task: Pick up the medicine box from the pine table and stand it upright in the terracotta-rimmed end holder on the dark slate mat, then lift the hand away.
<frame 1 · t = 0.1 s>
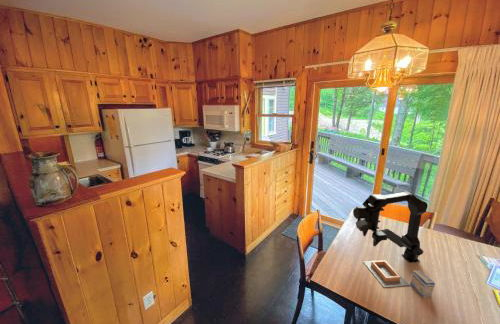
hand: (369, 240, 118), 15 cm above the table, tool pointing down, fingers open, 9 cm apart
end holder: (384, 272, 114), on the table
cell phone: (393, 238, 143), on the table
medicine box: (420, 290, 103), on the table
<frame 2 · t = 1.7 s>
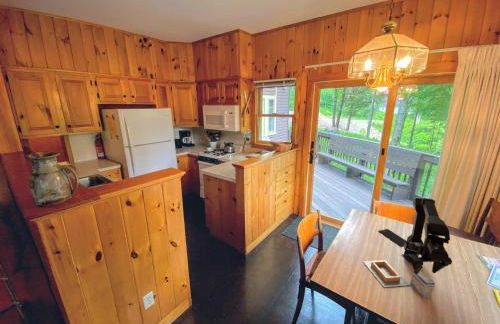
hand: (424, 273, 100), 10 cm above the table, tool pointing down, fingers open, 9 cm apart
nothing on the table moved.
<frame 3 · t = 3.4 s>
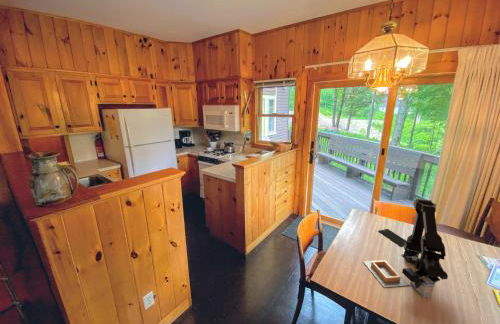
hand: (421, 287, 102), 2 cm above the table, tool pointing down, fingers closed on medicine box, 4 cm apart
medicine box: (420, 290, 103), on the table, touching gripper
everything else where it was.
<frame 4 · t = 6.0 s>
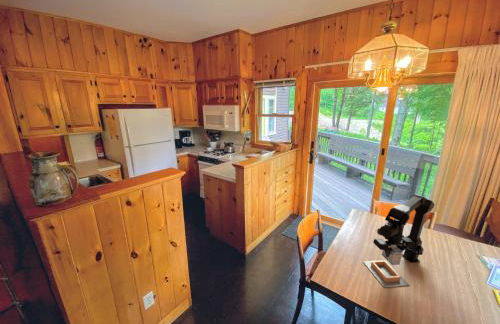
hand: (390, 256, 110), 12 cm above the table, tool pointing down, fingers closed on medicine box, 4 cm apart
medicine box: (390, 259, 110), point 10 cm above the table, touching gripper
everything else where it was.
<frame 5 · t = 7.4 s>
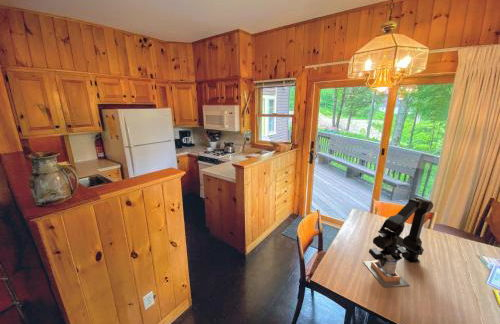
hand: (386, 265, 113), 5 cm above the table, tool pointing down, fingers closed on medicine box, 4 cm apart
medicine box: (385, 269, 113), point 3 cm above the table, touching gripper
everything else where it was.
when the fingers open (4 cm above the table, at t = 8.4 s): medicine box drops 1 cm, resting on end holder.
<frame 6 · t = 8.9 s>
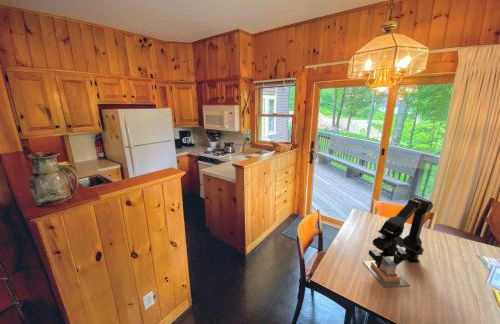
hand: (385, 267, 113), 4 cm above the table, tool pointing down, fingers open, 9 cm apart
medicine box: (385, 272, 114), resting on end holder
everything else where it was.
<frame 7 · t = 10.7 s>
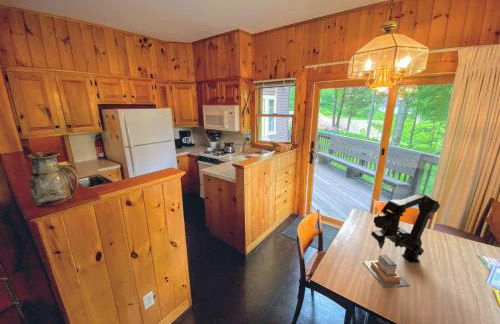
hand: (388, 247, 115), 13 cm above the table, tool pointing down, fingers open, 9 cm apart
nothing on the table moved.
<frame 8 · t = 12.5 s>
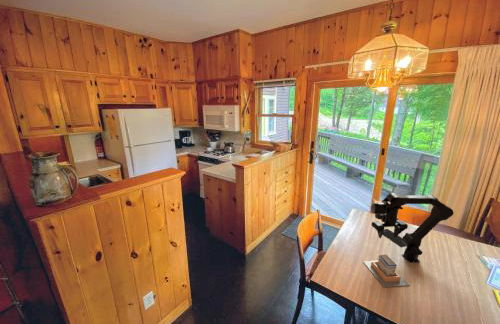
hand: (387, 237, 123), 13 cm above the table, tool pointing down, fingers open, 9 cm apart
nothing on the table moved.
at the end: medicine box 0.3 cm off-centre on the end holder, point 0.2 cm above the end holder's base; medicine box tilted 0°; the gripper is holding nothing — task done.
